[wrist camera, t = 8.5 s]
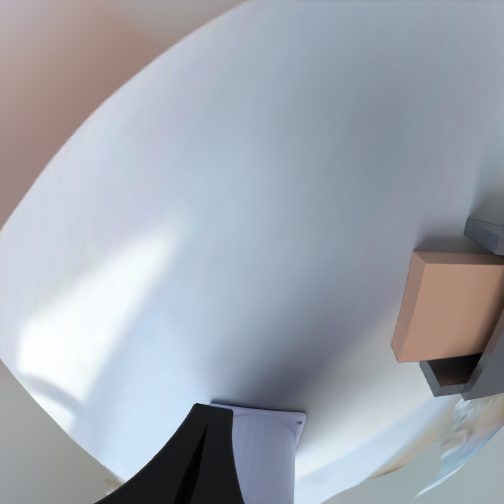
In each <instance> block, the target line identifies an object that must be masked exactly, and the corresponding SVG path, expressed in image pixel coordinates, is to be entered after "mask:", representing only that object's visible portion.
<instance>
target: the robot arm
mask: <svg viewBox="0 0 504 504" xmlns="http://www.w3.org/2000/svg"><path fill="white" fill-rule="evenodd" d="M305 422H306V414H305V413H301V412H284V411H271V410H260V409H250V408H242V407H234V406H227V405H220V404H210V405H205V404H199V403H196V404H194V405H193V407H192V409H191V410H190V412H189V414H188V415H187V417H186V418H185V420H184V421H183V423H182V424H181V425H180V427H179V428H178V429H177V431H176V432H175V433H174V435H173V436H172V437H171V438H170V440H169V441H168V442H167V443H166V444H165V446H164V447H163V448H162V449H161V450H160V451H159V452H158V453H157V454H156V455H155V456H154V457H153V459H152V460H151V461H150V462H149V463H148V464H147V465H146V466H145V467H143V468H142V469H141V470H140V471H139V472H138V473H137V474H136V475H135V476H133V477H132V478H131V479H130V480H129V481H127V482H126V483H125V484H123V485H122V486H121V487H119V488H118V489H117V490H115V491H114V492H112V493H111V494H109V495H108V496H106V497H105V498H103V499H101V500H100V501H98V502H96V503H94V504H294V478H295V452H296V449H297V446H298V443H299V440H300V437H301V434H302V431H303V428H304V425H305Z"/></svg>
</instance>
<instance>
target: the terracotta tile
mask: <svg viewBox="0 0 504 504" xmlns="http://www.w3.org/2000/svg"><path fill="white" fill-rule="evenodd" d="M503 308H504V256H503V255H493V254H472V253H449V252H425V251H413V252H412V258H411V263H410V268H409V273H408V278H407V283H406V287H405V292H404V296H403V300H402V305H401V309H400V313H399V316H398V320H397V324H396V328H395V331H394V335H393V338H392V342H391V348H392V350H393V352H394V355H395V357H396V359H397V362H398V363H400V362H412V361H423V360H432V359H441V358H449V357H457V356H464V355H470V354H476V353H482V352H484V351H485V349H486V347H487V345H488V342H489V340H490V338H491V336H492V334H493V332H494V330H495V327H496V325H497V323H498V320H499V318H500V316H501V313H502V311H503Z"/></svg>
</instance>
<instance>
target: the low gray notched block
mask: <svg viewBox="0 0 504 504" xmlns="http://www.w3.org/2000/svg"><path fill="white" fill-rule="evenodd" d="M464 234H465V235H466V236H468V237H470V238H471V239H473V240H474V241H476V242H477V243H479V244H480V245H482V246H483V247H485V248H486V249H488V250H489V251H491V252H492V253H494V254H497V255H503V256H504V226H499V225H495V224H490V223H485V222H480V221H476V220H471V219H467V223H466V228H465V232H464ZM419 365H420V367H421V369H422V371H423V373H424V376H425V378H426V380H427V382H428V384H429V386H430V388H431V391H432V393H433V395H434V397H438V396H445V395H453V394H460V393H461V395H462V397H463V399H464V401H466V400H471V399H476V398H481V397H486V396H491V395H495V394H499V393H504V308H503V311H502V313H501V316H500V318H499V320H498V323H497V325H496V327H495V330H494V332H493V334H492V336H491V338H490V340H489V342H488V345H487V347H486V349H485V351H484V352H482V353H476V354H470V355H464V356H457V357H449V358H441V359H432V360H423V361H421V362H420V364H419Z"/></svg>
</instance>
